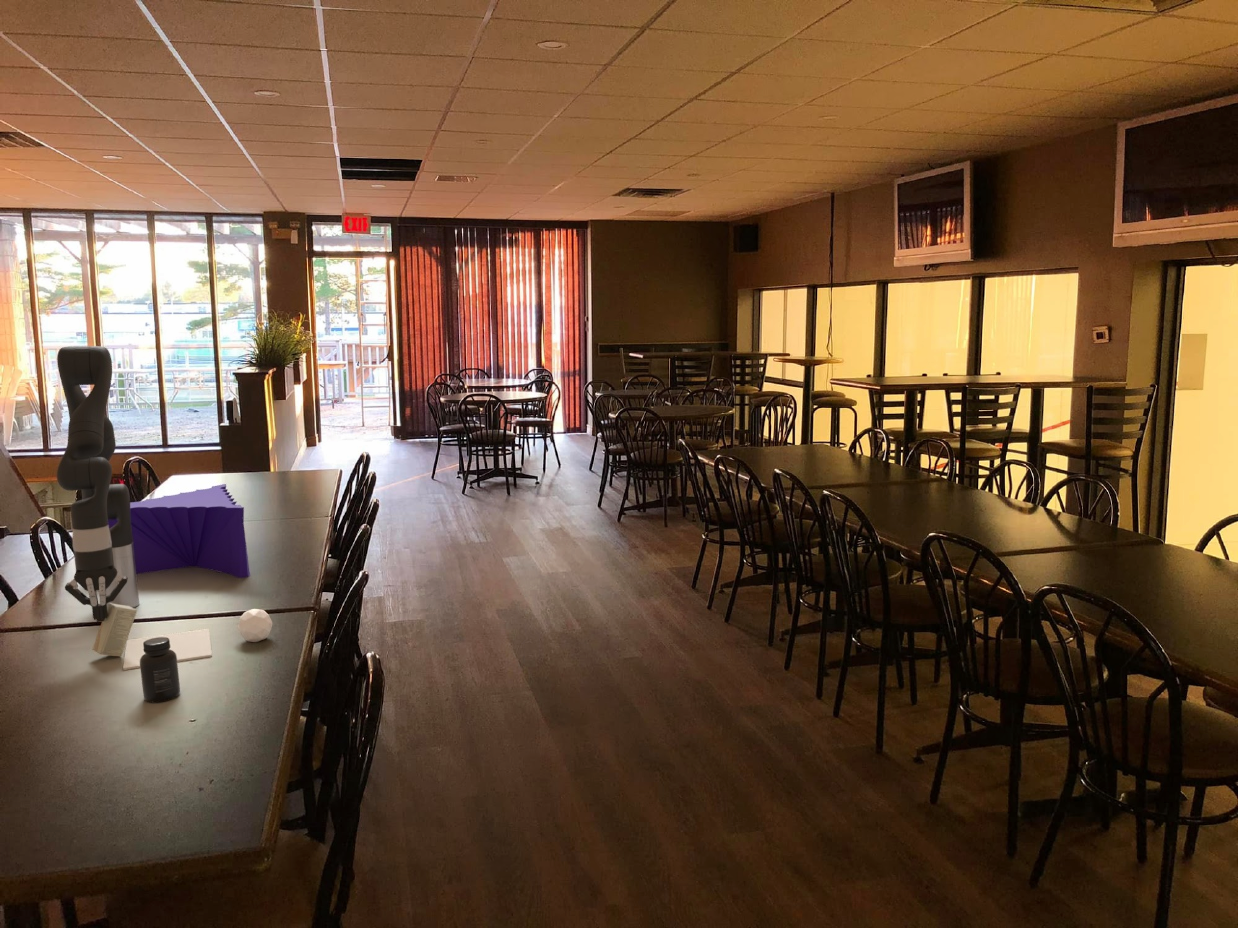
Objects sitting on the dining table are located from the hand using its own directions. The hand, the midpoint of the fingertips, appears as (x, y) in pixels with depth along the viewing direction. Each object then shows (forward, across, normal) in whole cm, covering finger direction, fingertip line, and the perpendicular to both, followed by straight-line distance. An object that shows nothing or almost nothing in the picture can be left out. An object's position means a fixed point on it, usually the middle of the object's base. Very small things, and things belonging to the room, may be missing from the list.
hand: (100, 620), depth 212 cm
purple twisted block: (+10, -22, -84) cm, 87 cm away
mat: (+9, -13, 0) cm, 16 cm away
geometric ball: (+9, -32, +3) cm, 34 cm away
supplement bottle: (+9, -12, +30) cm, 34 cm away
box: (+8, 0, 0) cm, 8 cm away
